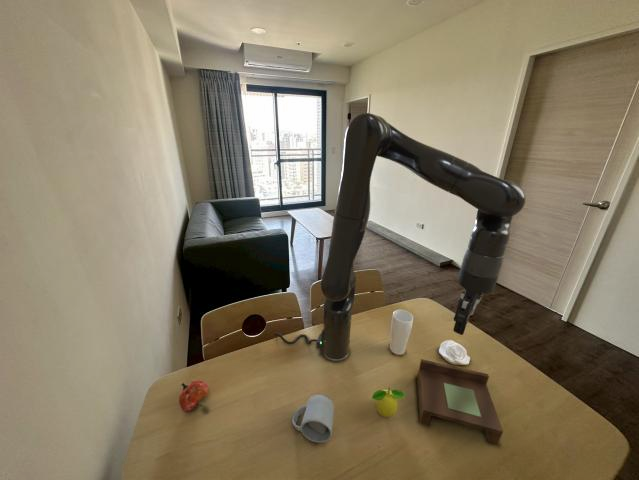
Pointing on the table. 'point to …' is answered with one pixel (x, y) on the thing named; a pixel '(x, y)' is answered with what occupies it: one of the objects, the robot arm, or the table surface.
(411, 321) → the drinking glass
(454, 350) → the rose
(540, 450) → the table surface
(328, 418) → the ceramic mug
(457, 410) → the wooden serving tray
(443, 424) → the table surface
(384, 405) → the lemon
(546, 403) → the table surface
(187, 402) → the red rounded piece
